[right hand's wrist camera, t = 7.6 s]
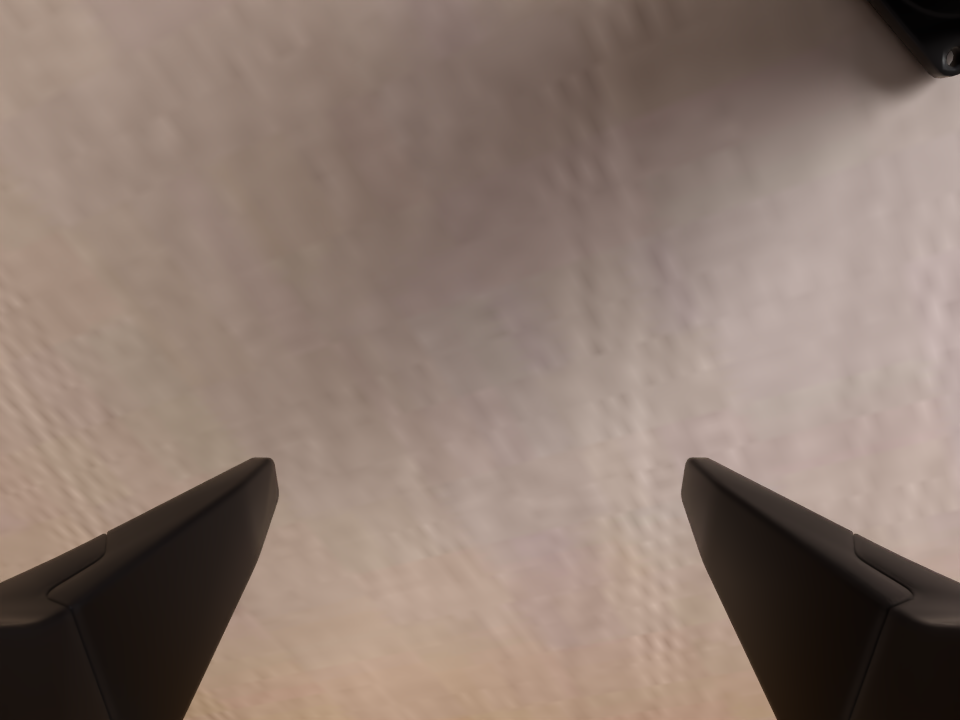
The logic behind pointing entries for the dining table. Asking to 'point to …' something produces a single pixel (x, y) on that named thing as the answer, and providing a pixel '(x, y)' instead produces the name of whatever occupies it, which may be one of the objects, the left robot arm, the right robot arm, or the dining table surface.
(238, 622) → the dining table surface
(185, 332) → the dining table surface
